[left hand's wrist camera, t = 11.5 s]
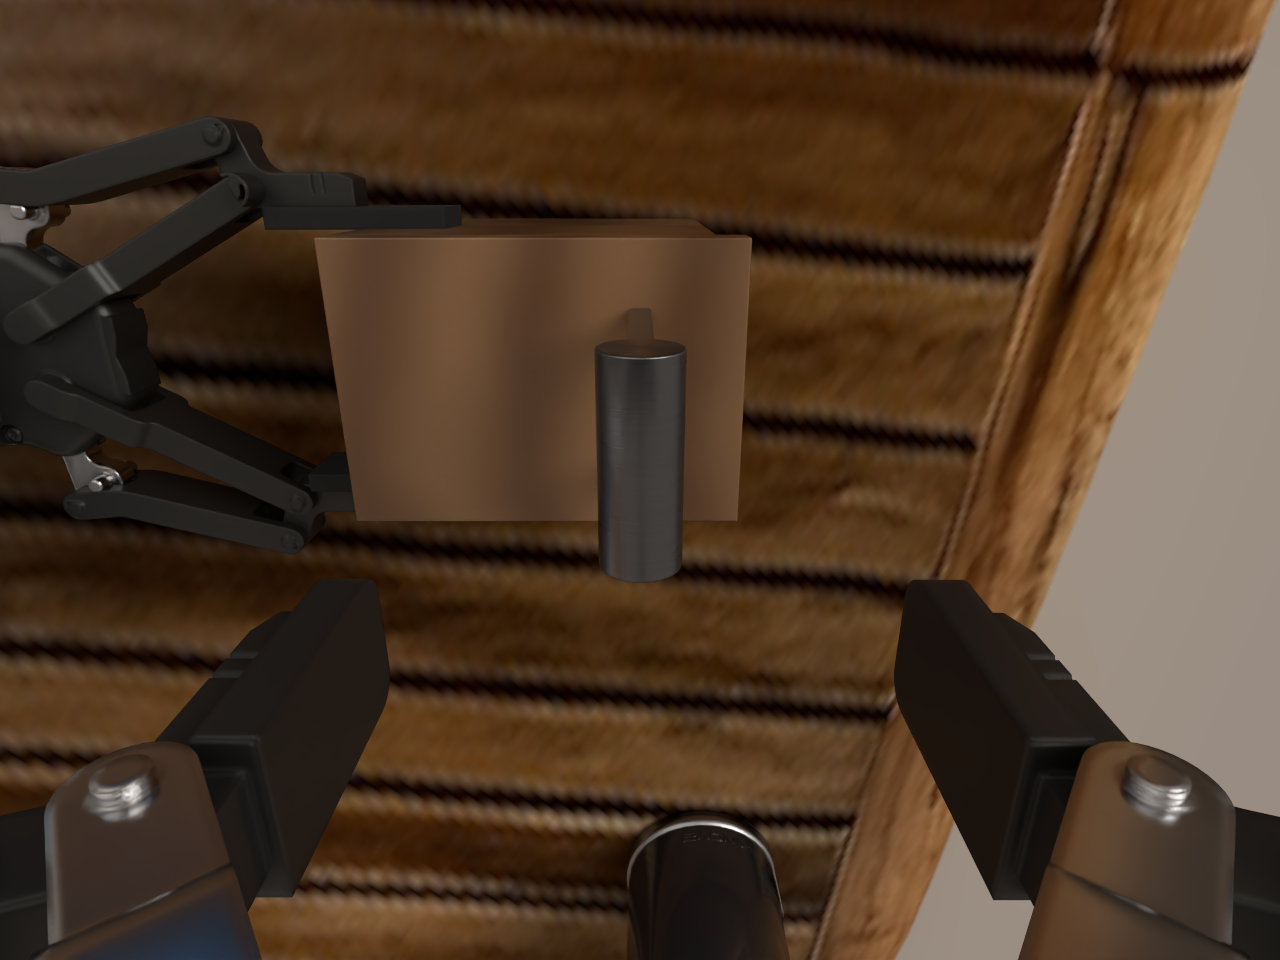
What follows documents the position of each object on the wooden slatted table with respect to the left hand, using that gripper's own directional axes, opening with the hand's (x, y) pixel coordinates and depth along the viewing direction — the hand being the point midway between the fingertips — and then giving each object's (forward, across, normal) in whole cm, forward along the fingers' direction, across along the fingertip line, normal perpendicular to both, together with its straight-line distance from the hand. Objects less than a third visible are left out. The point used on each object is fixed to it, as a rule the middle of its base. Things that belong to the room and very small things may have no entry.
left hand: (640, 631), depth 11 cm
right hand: (+20, +7, 0) cm, 21 cm away
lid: (+16, +3, 0) cm, 16 cm away
